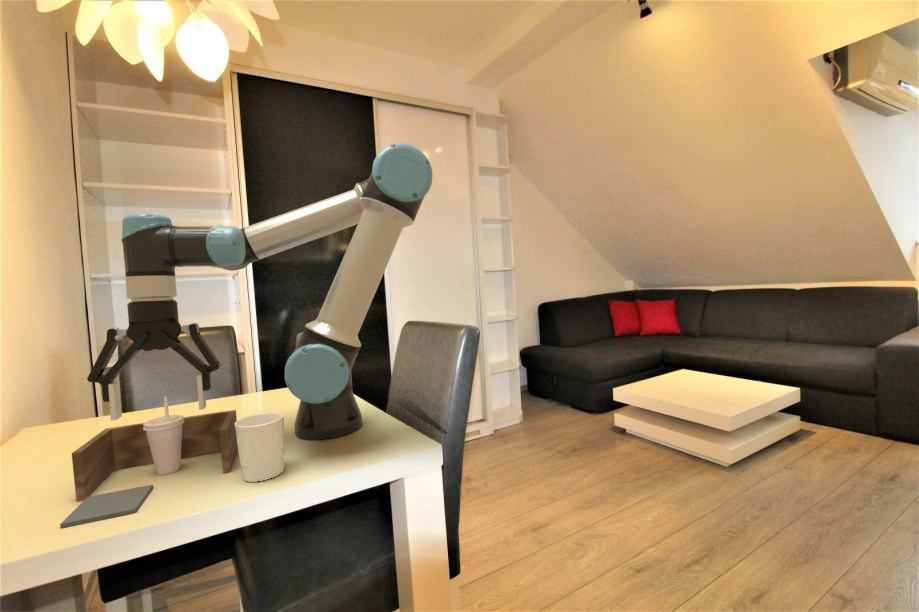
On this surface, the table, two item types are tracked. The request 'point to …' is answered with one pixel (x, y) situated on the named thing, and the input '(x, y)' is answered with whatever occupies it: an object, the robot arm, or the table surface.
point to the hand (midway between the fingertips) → (161, 413)
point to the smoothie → (165, 441)
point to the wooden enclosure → (133, 449)
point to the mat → (108, 506)
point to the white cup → (261, 446)
